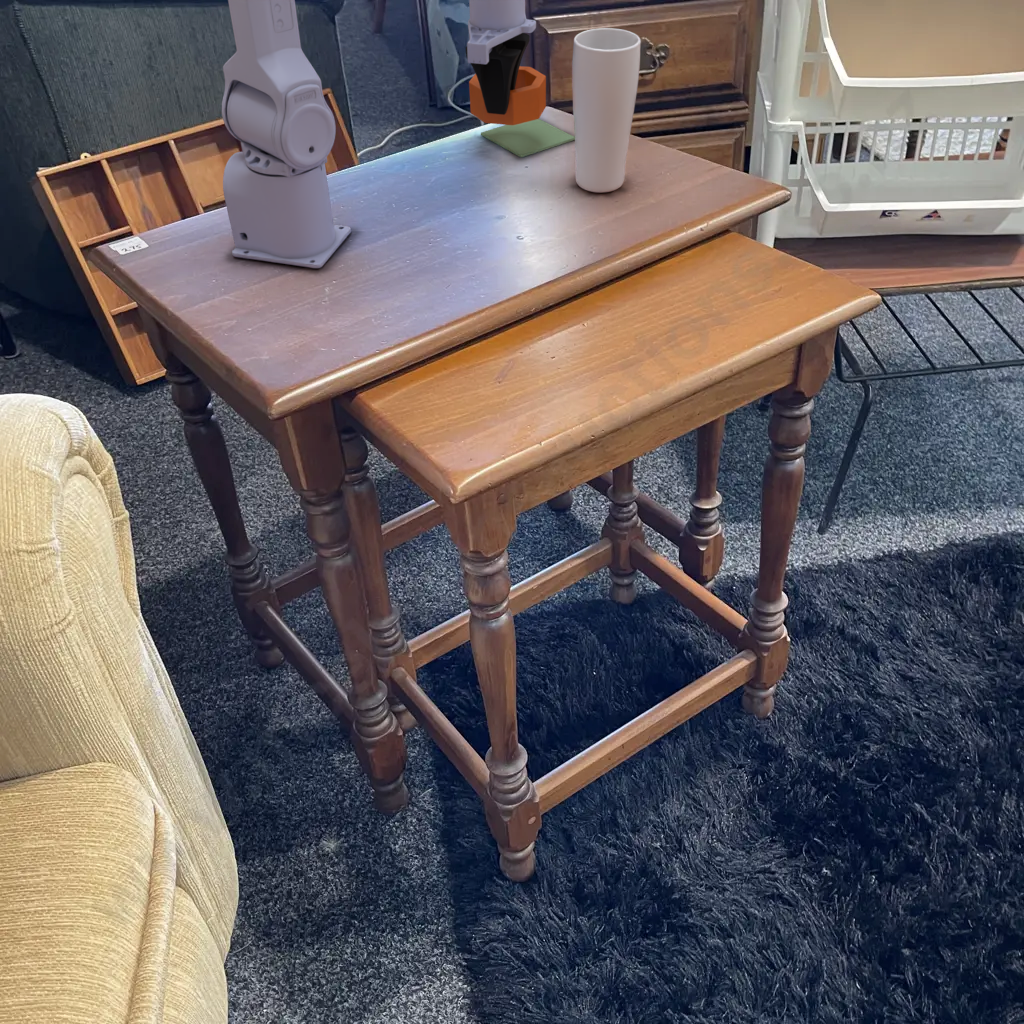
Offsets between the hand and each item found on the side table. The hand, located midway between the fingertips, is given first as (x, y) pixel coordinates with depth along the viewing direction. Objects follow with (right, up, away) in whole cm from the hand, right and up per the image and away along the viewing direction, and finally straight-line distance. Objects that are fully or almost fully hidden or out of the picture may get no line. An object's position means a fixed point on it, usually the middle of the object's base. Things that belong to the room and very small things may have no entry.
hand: (499, 109), depth 109 cm
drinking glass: (+11, -9, -1) cm, 14 cm away
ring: (+1, +1, +3) cm, 4 cm away
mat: (+3, 0, +8) cm, 9 cm away
